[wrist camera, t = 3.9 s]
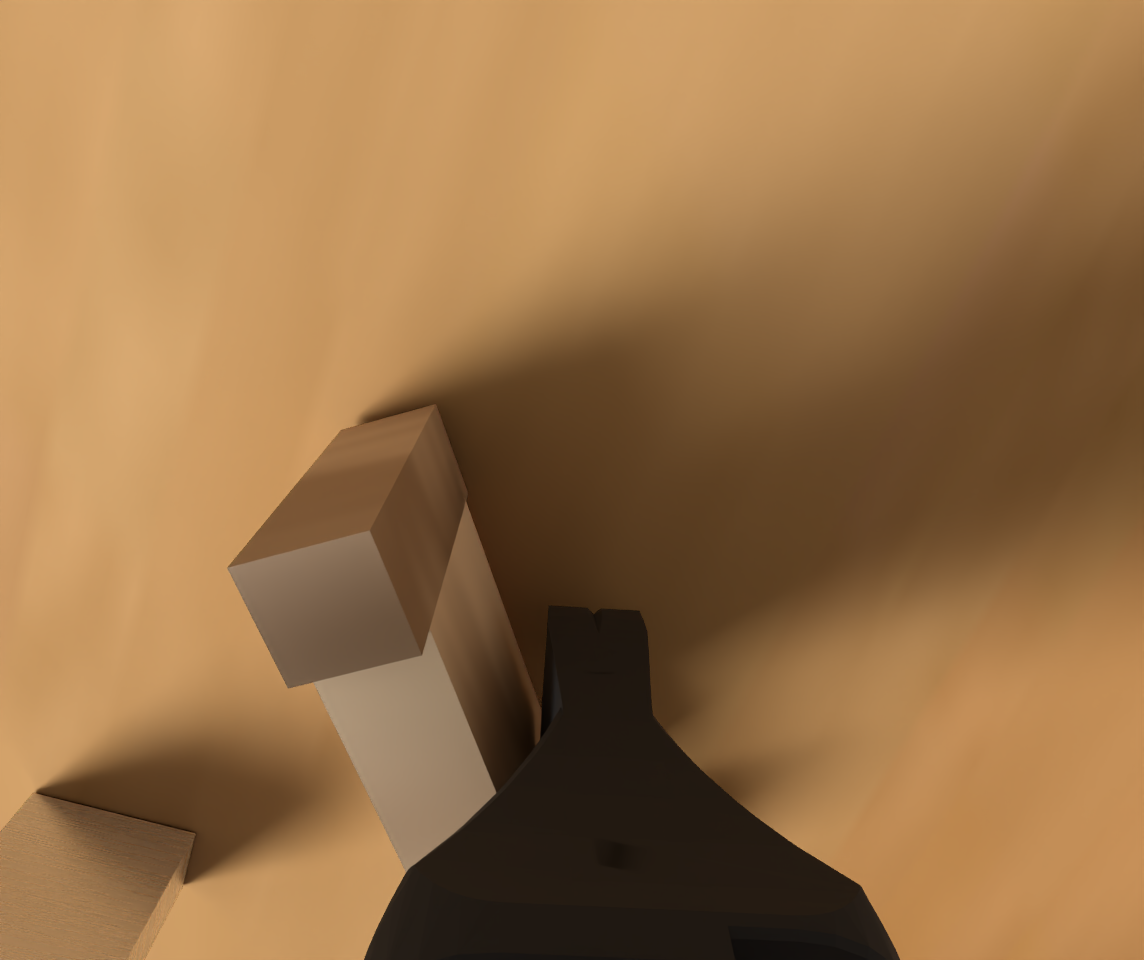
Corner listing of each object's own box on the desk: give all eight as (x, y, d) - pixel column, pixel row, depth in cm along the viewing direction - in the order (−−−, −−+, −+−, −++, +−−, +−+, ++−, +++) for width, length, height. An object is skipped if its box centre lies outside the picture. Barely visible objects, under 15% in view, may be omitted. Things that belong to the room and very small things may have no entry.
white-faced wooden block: (182, 887, 15) (42, 1155, 11) (24, 850, 15) (-181, 1113, 11) (195, 833, 15) (53, 1092, 11) (32, 792, 15) (-180, 1046, 10)
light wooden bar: (575, 793, 14) (581, 1035, 10) (498, 811, 15) (474, 1056, 11) (436, 403, 12) (370, 530, 8) (341, 429, 12) (227, 568, 8)
